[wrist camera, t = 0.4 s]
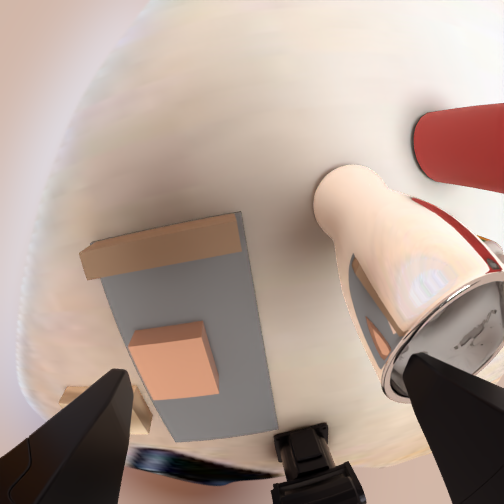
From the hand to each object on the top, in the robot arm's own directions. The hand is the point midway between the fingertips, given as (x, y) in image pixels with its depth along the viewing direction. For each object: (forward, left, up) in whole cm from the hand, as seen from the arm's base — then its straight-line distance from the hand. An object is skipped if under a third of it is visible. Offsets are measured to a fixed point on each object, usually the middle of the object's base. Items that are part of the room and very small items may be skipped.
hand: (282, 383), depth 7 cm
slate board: (-10, +6, -15) cm, 19 cm away
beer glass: (+2, -9, -15) cm, 17 cm away
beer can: (+6, -19, -15) cm, 25 cm away
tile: (-9, +7, -15) cm, 18 cm away
